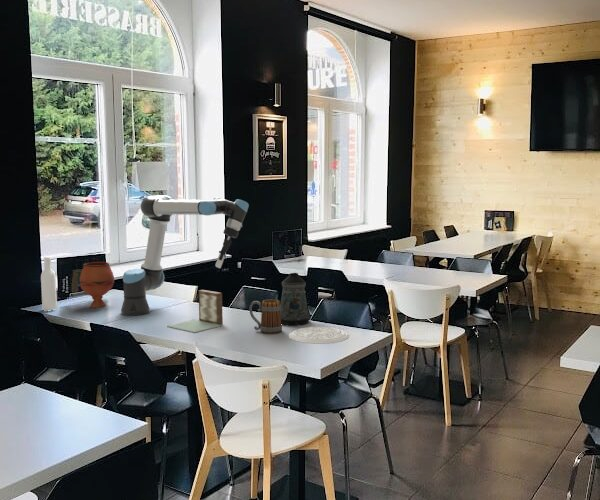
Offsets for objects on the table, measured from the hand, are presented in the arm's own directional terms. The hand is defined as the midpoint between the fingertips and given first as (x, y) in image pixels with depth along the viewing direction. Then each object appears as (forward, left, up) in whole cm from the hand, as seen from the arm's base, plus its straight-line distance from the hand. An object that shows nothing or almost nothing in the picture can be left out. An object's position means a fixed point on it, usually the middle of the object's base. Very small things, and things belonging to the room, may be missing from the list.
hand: (217, 267), depth 335 cm
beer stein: (+34, +20, -28) cm, 48 cm away
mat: (+2, -19, -28) cm, 33 cm away
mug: (+37, -4, -28) cm, 46 cm away
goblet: (-80, -18, -28) cm, 87 cm away
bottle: (-92, -41, -28) cm, 105 cm away
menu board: (+2, -7, -28) cm, 29 cm away
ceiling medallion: (+62, +5, -28) cm, 68 cm away
